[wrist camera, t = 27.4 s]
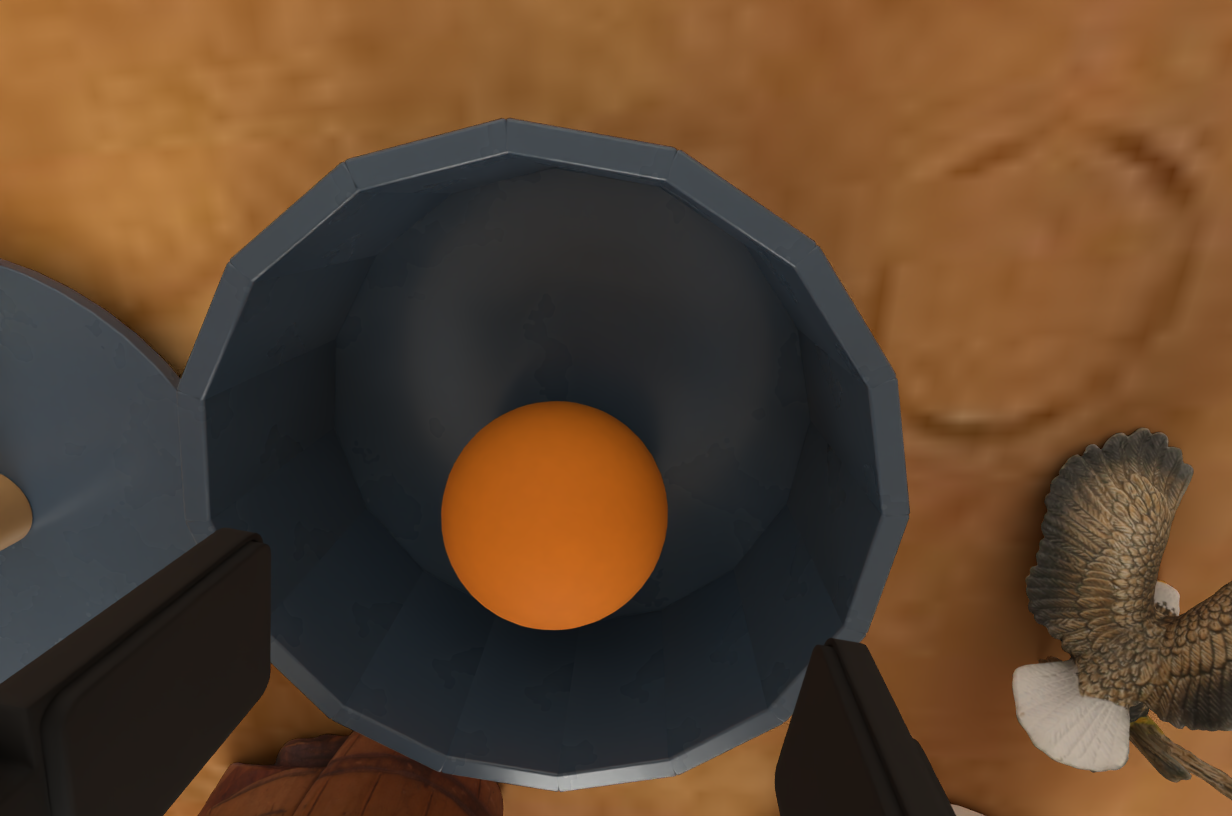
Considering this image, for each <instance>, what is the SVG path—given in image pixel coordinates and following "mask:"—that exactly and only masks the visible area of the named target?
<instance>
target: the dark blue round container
mask: <svg viewBox="0 0 1232 816" xmlns="http://www.w3.org/2000/svg"><path fill="white" fill-rule="evenodd" d="M177 390H178V391H177V393H176V398H177V413H178V428H179V443H180V458H181V473H182V488H183V502H184V517H185V520H187V521H186V524H187V526H188V528H189V530H190V532H191V534H192V536H193V538H194V540H195V542H196V544H198V543H200V542H201V541H202V540H204V539H205V538H207V537H208V536H210V535H211V534H212V533H214V532H215V531H217V530H219V529H221V528H232V529H237V530H243V531H248V532H254V533H258V534H259V535H261V537H262V539H263V543H265V544H268V545H269V547H270V549H271V663H272V664H273V665H274V666H275V667H276V668H277V669H278V670H279V671H280V672H281V673H282V674H283V675H284V676H285V677H286V678H287V679H289V680H290V681H291V682H292V683H293V684H294V685H295V686H296V687H297V688H298V689H299V690H300V691H301V692H302V693H303V694H304V695H305V696H306V697H307V698H308V699H309V700H310V701H312V702H313V703H314V704H315V705H316V706H317V707H318V708H319V709H320V710H321V711H322V712H323V713H324V714H325V715H326V716H327V717H328V718H330V719H331V718H332V720H333V721H335V722H337V723H339V724H341V725H343V726H345V727H347V728H349V729H351V730H353V731H355V732H358V733H360V734H362V735H364V736H366V737H368V738H370V739H372V740H374V741H376V742H378V743H380V744H382V745H384V746H386V747H388V748H390V749H392V750H394V751H396V752H399V753H401V754H403V755H405V756H407V757H409V758H411V759H413V760H415V761H417V762H419V763H421V764H423V765H425V766H427V767H429V768H431V769H433V770H435V771H437V772H440V771H441V772H442V773H445V774H451V775H457V776H464V777H470V778H476V779H482V780H488V781H495V782H501V783H507V784H513V785H519V786H525V787H532V788H538V789H544V790H550V791H560V792H564V791H571V790H578V789H585V788H593V787H600V786H607V785H614V784H622V783H629V782H636V781H643V780H651V779H658V778H665V777H672V776H676V775H680V774H682V773H684V772H686V771H688V770H690V769H692V768H694V767H696V766H698V765H700V764H702V763H704V762H706V761H708V760H710V759H712V758H714V757H716V756H718V755H720V754H722V753H724V752H726V751H728V750H730V749H732V748H734V747H736V746H739V745H741V744H743V743H745V742H747V741H749V740H751V739H753V738H755V737H757V736H759V735H761V734H763V733H765V732H767V731H769V730H771V729H773V728H775V727H777V726H779V725H781V724H782V723H783V722H785V721H787V720H788V718H789V717H790V716H791V715H792V714H793V712H794V708H795V705H796V702H797V699H798V696H799V693H800V689H801V686H802V683H803V680H804V677H805V673H806V670H807V667H808V664H809V661H810V657H811V654H812V651H813V649H814V647H815V646H816V645H824V644H825V642H826V641H827V639H829V638H835V639H841V640H846V641H851V642H857V643H860V642H861V641H862V639H863V638H864V637H865V636H866V633H867V632H868V630H869V627H870V625H871V622H872V619H873V616H874V614H875V611H876V608H877V605H878V602H879V600H880V597H881V594H882V591H883V589H884V586H885V583H886V580H887V578H888V575H889V572H890V569H891V566H892V564H893V561H894V558H895V555H896V553H897V550H898V547H899V544H900V542H901V539H902V536H903V533H904V530H905V528H906V525H907V522H908V519H909V513H910V507H909V497H908V486H907V475H906V465H905V454H904V443H903V433H902V422H901V411H900V401H899V390H898V380H897V378H896V374H895V372H894V370H893V368H892V367H891V365H890V363H889V362H888V360H887V358H886V357H885V355H884V353H883V352H882V350H881V348H880V347H879V345H878V343H877V342H876V340H875V338H874V337H873V335H872V333H871V332H870V330H869V328H868V327H867V325H866V323H865V321H864V320H863V318H862V316H861V315H860V313H859V311H858V310H857V308H856V306H855V305H854V303H853V301H852V300H851V298H850V296H849V295H848V293H847V291H846V290H845V288H844V286H843V285H842V283H841V281H840V280H839V278H838V276H837V275H836V273H835V271H834V270H833V268H832V266H831V265H830V263H829V261H828V260H827V258H826V256H825V255H824V253H823V251H822V250H821V248H820V247H819V246H818V245H816V243H815V241H814V240H812V239H811V238H809V237H808V236H806V235H805V234H803V233H802V232H800V231H799V230H797V229H796V228H794V227H793V226H792V225H790V224H789V223H787V222H786V221H784V220H783V219H781V218H780V217H778V216H777V215H775V214H774V213H773V212H771V211H770V210H768V209H767V208H765V207H764V206H762V205H761V204H759V203H758V202H756V201H755V200H754V199H752V198H751V197H749V196H748V195H746V194H745V193H743V192H742V191H740V190H739V189H737V188H736V187H734V186H733V185H732V184H730V183H729V182H727V181H726V180H724V179H723V178H721V177H720V176H718V175H717V174H715V173H714V172H713V171H711V170H710V169H708V168H707V167H705V166H704V165H702V164H701V163H699V162H698V161H696V160H695V159H694V158H692V157H691V156H689V155H688V154H686V153H685V152H683V151H682V150H677V149H676V148H674V147H670V146H665V145H659V144H654V143H648V142H642V141H637V140H631V139H625V138H620V137H614V136H609V135H603V134H597V133H592V132H586V131H580V130H575V129H569V128H564V127H558V126H552V125H547V124H541V123H536V122H530V121H524V120H519V119H513V118H508V119H503V118H501V119H497V120H493V121H489V122H486V123H482V124H478V125H474V126H470V127H467V128H463V129H459V130H455V131H451V132H448V133H444V134H440V135H436V136H433V137H429V138H425V139H421V140H417V141H414V142H410V143H406V144H402V145H398V146H395V147H391V148H387V149H383V150H379V151H376V152H372V153H368V154H364V155H360V156H357V157H353V158H349V159H347V160H346V161H345V162H341V163H340V164H339V165H337V166H336V167H335V168H334V169H333V170H332V171H330V172H329V173H328V174H327V175H326V176H325V177H324V178H322V179H321V180H320V181H319V182H318V183H317V184H316V185H314V186H313V187H312V188H311V189H310V190H309V191H308V192H306V193H305V194H304V195H303V196H302V197H301V198H300V199H298V200H297V201H296V202H295V203H294V204H293V205H291V206H290V207H289V208H288V209H287V210H286V211H285V212H283V213H282V214H281V215H280V216H279V217H278V218H277V219H275V220H274V221H273V222H272V223H271V224H270V225H269V226H267V227H266V228H265V229H264V230H263V231H262V232H260V233H259V234H258V235H257V236H256V237H255V238H254V239H252V240H251V241H250V242H249V243H248V244H247V245H246V246H244V247H243V248H242V249H241V250H240V251H239V252H238V253H236V254H235V255H234V256H233V257H232V258H231V259H230V262H228V263H227V265H226V267H225V270H224V272H223V275H222V277H221V280H220V282H219V285H218V287H217V290H216V292H215V295H214V297H213V300H212V302H211V305H210V307H209V310H208V312H207V315H206V317H205V320H204V322H203V325H202V327H201V330H200V332H199V334H198V337H197V339H196V342H195V344H194V347H193V349H192V352H191V354H190V357H189V359H188V362H187V364H186V367H185V369H184V372H183V374H182V377H181V379H180V382H179V384H178V387H177ZM548 401H566V402H574V403H579V404H583V405H587V406H590V407H593V408H596V409H599V410H601V411H604V412H606V413H608V414H609V415H611V416H613V417H614V418H616V419H618V420H619V421H621V422H622V423H623V424H625V425H626V426H627V427H628V428H629V429H631V430H632V431H633V432H634V433H635V434H636V435H637V436H638V437H639V438H640V439H641V441H642V442H643V443H644V445H645V446H646V447H647V449H648V450H649V452H650V453H651V455H652V456H653V458H654V460H655V462H656V465H657V467H658V469H659V471H660V473H661V476H662V479H663V483H664V486H665V491H666V496H667V504H668V522H667V531H666V537H665V542H664V545H663V548H662V551H661V554H660V557H659V560H658V562H657V564H656V566H655V568H654V570H653V572H652V573H651V575H650V576H649V578H648V579H647V581H646V582H645V584H644V585H643V587H642V588H641V589H640V590H639V591H638V592H637V593H636V594H635V595H634V596H633V597H632V598H631V599H630V600H629V601H628V602H627V603H626V604H624V605H623V606H622V607H620V608H619V609H618V610H616V611H615V612H613V613H612V614H610V615H608V616H606V617H604V618H602V619H600V620H598V621H596V622H593V623H590V624H587V625H584V626H581V627H577V628H572V629H564V630H542V629H534V628H529V627H524V626H521V625H518V624H515V623H513V622H510V621H508V620H505V619H503V618H501V617H499V616H498V615H496V614H494V613H493V612H491V611H490V610H488V609H487V608H485V607H484V606H483V605H482V604H481V603H479V602H478V601H477V600H476V599H475V598H474V597H473V596H472V595H471V594H470V593H469V592H468V590H467V589H466V588H465V586H464V585H463V584H462V582H461V581H460V580H459V578H458V576H457V574H456V572H455V571H454V569H453V567H452V565H451V563H450V560H449V557H448V555H447V552H446V548H445V545H444V540H443V534H442V523H441V508H442V500H443V494H444V491H445V487H446V484H447V480H448V477H449V474H450V472H451V470H452V468H453V465H454V463H455V462H456V460H457V458H458V456H459V455H460V453H461V452H462V450H463V449H464V447H465V446H466V445H467V444H468V443H469V441H470V440H471V439H472V438H473V437H474V436H475V435H476V434H477V433H478V432H479V431H480V430H481V429H482V428H484V427H485V426H486V425H488V424H489V423H490V422H492V421H493V420H494V419H496V418H498V417H499V416H501V415H503V414H505V413H507V412H509V411H511V410H514V409H516V408H519V407H522V406H525V405H529V404H534V403H539V402H548Z"/></svg>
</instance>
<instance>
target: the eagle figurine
mask: <svg viewBox="0 0 1232 816" xmlns="http://www.w3.org/2000/svg"><path fill="white" fill-rule="evenodd" d="M1192 475H1193V468H1192V467H1191V465H1189V464H1185V463H1184V462H1183V458H1182V451H1181V449H1179V448H1176V447H1168V438H1167V436H1166V435H1165V434H1164V433H1162V432H1157V433H1154V434H1151V433H1150V430H1149V429H1147V428H1140V429H1137V430H1136V431H1135V432H1133V433H1132V434H1131V435H1129V436H1126V435H1125V434H1124V433H1117V434H1115V435H1113V436H1112V437H1110V438H1109V439H1108V440H1107V441H1106V442H1105V444H1104V446H1103V448H1102V449H1100V448H1099V447H1098V446H1097V445H1095V444H1092V445H1088V446H1087V447H1086V450H1085V452H1084V453H1083V455H1082V456H1079V455H1074V456H1072V457H1070V458H1069V459H1068V460H1067V462H1066V463H1065V464H1064V465H1063V466H1062V468H1061V469H1060V471H1059V476H1057V477H1055V478H1054V479H1053V480H1052V482H1051V484H1050V493H1049V494H1047V495H1046V497H1045V501H1044V503H1045V505H1046V507H1047V513H1046V514H1045V515H1044V520H1043V522H1042V524H1041V530H1042V533H1043V535H1044V536H1045V537H1044V538H1043V539H1042V540H1040V543H1039V551H1038V552H1037V553H1036V561H1037V563H1038V564H1037V566H1033V567H1031V568H1030V575H1029V576H1027V577H1026V580H1025V581H1026V584H1027V587H1026V594H1027V596H1028V598H1029V603H1028V609H1029V611H1030V612H1031V613H1033V614H1034V619H1035V621H1036V622H1037V623H1038V624H1041V625H1044V626H1045V627H1047V629H1048V632H1049V634H1050V635H1051V636H1052V637H1053V638H1055V639H1059V640H1060V641H1061V642H1062V646H1061V647H1062V650H1063V651H1065V652H1067V653H1069V654H1070V655H1071V658H1070V659H1069V660H1067V661H1061V660H1060V659H1058V658H1056V657H1053V656H1049V657H1047V659H1046V660H1043V659H1039V660H1038V662H1039V663H1038V664H1029V665H1024V666H1021V667H1018V668H1017V669H1015V671H1014V673H1013V680H1012V690H1013V694H1014V699H1015V704H1016V705H1015V707H1016V716H1017V719H1018V722H1019V723H1020V725H1021V726H1022V727H1023V728H1024V729H1025V731H1026V732H1027V734H1028V735H1029V737H1030V739H1031V741H1032V743H1033V744H1034V746H1035V747H1036V748H1038V749H1039V750H1041V751H1043V752H1044V753H1045V754H1047V755H1048V756H1049V757H1050V758H1051V759H1052V760H1054V761H1057V762H1059V763H1062V764H1065V765H1069V766H1072V767H1074V768H1077V769H1083V770H1090V771H1091V772H1093V773H1094V772H1102V771H1108V770H1118V769H1120V768H1122V767H1123V766H1124V765H1125V764H1126V762H1127V760H1128V759H1129V758H1128V754H1129V740H1130V741H1131V742H1132V743H1133V744H1134V745H1135V746H1136V747H1137V748H1138V750H1139V751H1140V752H1141V753H1142V754H1143V755H1144V756H1145V757H1146V758H1147V760H1148V761H1149V762H1150V763H1151V764H1152V765H1153V766H1154V767H1155V768H1156V770H1157V771H1158V772H1159V773H1160V774H1161V775H1162V776H1163V777H1165V778H1166V779H1168V780H1170V781H1172V782H1179V781H1180V780H1189V779H1191V774H1190V773H1192V774H1194V775H1196V776H1198V777H1199V778H1201V779H1203V780H1205V781H1206V782H1207V783H1209V784H1210V785H1212V786H1213V787H1214V788H1215V789H1217V790H1218V791H1219V792H1220V793H1222V794H1223V795H1225V796H1226V797H1228V798H1229V799H1231V800H1232V778H1231V777H1229V776H1228V775H1227V774H1226V773H1225V772H1223V771H1221V770H1219V769H1217V768H1215V767H1213V766H1211V765H1209V764H1207V763H1206V762H1204V761H1202V760H1200V759H1199V758H1197V757H1196V756H1195V755H1194V754H1192V753H1191V752H1190V751H1187V750H1185V749H1184V748H1183V747H1181V746H1179V745H1177V744H1175V743H1173V742H1172V741H1171V740H1170V739H1169V738H1167V737H1166V736H1165V735H1164V733H1163V731H1162V730H1161V729H1160V728H1159V727H1158V725H1157V724H1156V723H1155V722H1154V721H1153V720H1152V719H1151V718H1150V717H1149V716H1148V715H1147V714H1148V712H1149V709H1150V710H1152V711H1153V712H1154V713H1156V714H1157V716H1158V717H1159V719H1160V720H1162V721H1164V722H1169V723H1171V724H1172V725H1173V726H1174V727H1176V728H1178V729H1183V727H1184V726H1187V727H1188V728H1189V729H1190V730H1208V731H1217V730H1221V731H1232V581H1231V582H1229V583H1228V584H1226V585H1224V586H1223V587H1222V588H1221V589H1219V590H1218V591H1217V592H1216V593H1215V594H1214V595H1212V596H1211V597H1209V598H1208V599H1206V600H1205V601H1203V602H1201V603H1199V604H1197V605H1196V606H1195V607H1193V608H1191V609H1190V610H1188V611H1187V612H1186V613H1184V614H1182V615H1180V616H1179V611H1180V608H1179V599H1180V595H1179V593H1178V591H1177V590H1176V589H1174V588H1173V587H1172V586H1170V585H1168V584H1167V583H1166V582H1164V581H1162V580H1158V581H1157V577H1158V571H1159V566H1160V563H1161V559H1162V555H1163V553H1164V550H1165V547H1166V545H1167V541H1168V538H1169V533H1170V528H1171V524H1172V521H1173V518H1174V515H1175V512H1176V510H1177V508H1178V506H1179V504H1180V501H1181V498H1182V496H1183V495H1184V493H1185V491H1186V490H1187V487H1188V485H1189V483H1190V481H1191V478H1192ZM1189 772H1190V773H1189Z"/></svg>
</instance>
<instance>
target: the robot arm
mask: <svg viewBox="0 0 1232 816" xmlns="http://www.w3.org/2000/svg"><path fill="white" fill-rule="evenodd" d="M270 663H271V549H270V547H269V545H268V544H265V543H263V539H262V537H261V535H259V534H258V533H254V532H248V531H243V530H237V529H232V528H221V529H219V530H217V531H215V532H214V533H212V534H211V535H210V536H208V537H207V538H205V539H204V540H202V541H201V542H200V543H198V544H197V545H195V546H194V547H193V548H191V549H190V550H188V551H187V552H186V553H184V554H183V555H181V556H180V557H179V558H177V559H176V560H174V561H173V562H171V563H170V564H169V565H167V566H166V567H164V568H163V569H162V570H160V571H159V572H157V573H156V574H155V575H153V576H152V577H150V578H149V579H147V580H146V581H145V582H143V583H142V584H140V585H139V586H138V587H136V588H135V589H133V590H132V591H131V592H129V593H128V594H126V595H125V596H124V597H122V598H121V599H119V600H118V601H116V602H115V603H114V604H112V605H111V606H109V607H108V608H107V609H105V610H104V611H102V612H101V613H100V614H98V615H97V616H95V617H94V618H92V619H91V620H90V621H88V622H87V623H85V624H84V625H83V626H81V627H80V628H78V629H77V630H76V631H74V632H73V633H71V634H70V635H68V636H67V637H66V638H64V639H63V640H61V641H60V642H59V643H57V644H56V645H54V646H53V647H52V648H50V649H49V650H47V651H46V652H45V653H43V654H42V655H40V656H39V657H37V658H36V659H35V660H33V661H32V662H30V663H29V664H28V665H26V666H25V667H23V668H22V669H21V670H19V671H18V672H16V673H15V674H13V675H12V676H11V677H9V678H8V679H6V680H5V681H4V682H2V683H1V684H0V816H163V815H164V814H165V813H166V811H167V810H168V809H169V808H170V806H171V805H172V804H173V803H174V802H175V800H176V799H177V798H178V797H179V796H180V794H181V793H182V792H183V791H184V790H185V788H186V787H187V786H188V785H189V783H190V782H191V781H192V780H193V779H194V777H195V776H196V775H197V774H198V773H199V771H200V770H201V769H202V768H203V767H204V765H205V764H206V763H207V762H208V760H209V759H210V758H211V757H212V756H213V754H214V753H215V752H216V751H217V750H218V748H219V747H220V746H221V745H222V744H223V742H224V741H225V740H226V739H227V737H228V736H229V735H230V734H231V733H232V731H233V730H234V729H235V728H236V727H237V725H238V724H239V723H240V722H241V721H242V719H243V718H244V717H245V716H246V714H247V713H248V712H249V711H250V710H251V708H252V707H253V706H254V705H255V704H256V702H257V701H258V700H259V699H260V697H261V696H262V695H263V693H264V691H265V689H266V687H267V685H268V682H269V678H270ZM775 791H776V797H777V801H778V806H779V811H780V816H985V815H983V814H980V813H977V812H975V811H972V810H969V809H967V808H964V807H961V806H958V805H953V804H950V802H949V800H948V798H947V796H946V794H945V792H944V790H943V788H942V786H941V784H940V782H939V780H938V778H937V776H936V774H935V772H934V770H933V768H932V766H931V764H930V762H929V760H928V758H927V756H926V754H925V752H924V750H923V749H922V747H921V746H920V744H919V743H918V741H916V740H915V739H913V738H912V737H911V735H910V733H909V731H908V729H907V727H906V725H905V723H904V721H903V719H902V716H901V714H900V712H899V710H898V708H897V706H896V704H895V702H894V700H893V698H892V696H891V694H890V692H889V690H888V688H887V686H886V684H885V682H884V680H883V678H882V676H881V674H880V672H879V670H878V668H877V666H876V664H875V662H874V660H873V658H872V656H871V654H870V652H869V650H868V648H867V647H866V645H864V644H862V643H857V642H851V641H846V640H841V639H835V638H829V639H827V641H826V642H825V644H824V645H816V646H815V647H814V649H813V651H812V654H811V657H810V661H809V664H808V667H807V670H806V673H805V677H804V680H803V683H802V686H801V689H800V693H799V696H798V699H797V702H796V705H795V708H794V712H793V715H792V718H791V721H790V724H789V728H788V731H787V734H786V737H785V740H784V744H783V747H782V750H781V753H780V756H779V760H778V763H777V766H776V771H775Z"/></svg>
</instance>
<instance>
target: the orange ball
mask: <svg viewBox="0 0 1232 816" xmlns="http://www.w3.org/2000/svg"><path fill="white" fill-rule="evenodd" d="M667 522H668V504H667V496H666V491H665V486H664V483H663V479H662V476H661V473H660V471H659V469H658V467H657V465H656V462H655V460H654V458H653V456H652V455H651V453H650V452H649V450H648V449H647V447H646V446H645V445H644V443H643V442H642V441H641V439H640V438H639V437H638V436H637V435H636V434H635V433H634V432H633V431H632V430H631V429H629V428H628V427H627V426H626V425H625V424H623V423H622V422H621V421H619V420H618V419H616V418H614V417H613V416H611V415H609V414H608V413H606V412H604V411H601V410H599V409H596V408H593V407H590V406H587V405H583V404H579V403H574V402H566V401H548V402H539V403H534V404H529V405H525V406H522V407H519V408H516V409H514V410H511V411H509V412H507V413H505V414H503V415H501V416H499V417H498V418H496V419H494V420H493V421H492V422H490V423H489V424H488V425H486V426H485V427H484V428H482V429H481V430H480V431H479V432H478V433H477V434H476V435H475V436H474V437H473V438H472V439H471V440H470V441H469V443H468V444H467V445H466V446H465V447H464V449H463V450H462V452H461V453H460V455H459V456H458V458H457V460H456V462H455V463H454V465H453V468H452V470H451V472H450V474H449V477H448V480H447V484H446V487H445V491H444V494H443V500H442V508H441V523H442V534H443V540H444V545H445V548H446V552H447V555H448V557H449V560H450V563H451V565H452V567H453V569H454V571H455V572H456V574H457V576H458V578H459V580H460V581H461V582H462V584H463V585H464V586H465V588H466V589H467V590H468V592H469V593H470V594H471V595H472V596H473V597H474V598H475V599H476V600H477V601H478V602H479V603H481V604H482V605H483V606H484V607H485V608H487V609H488V610H490V611H491V612H493V613H494V614H496V615H498V616H499V617H501V618H503V619H505V620H508V621H510V622H513V623H515V624H518V625H521V626H524V627H529V628H534V629H542V630H564V629H572V628H577V627H581V626H584V625H587V624H590V623H593V622H596V621H598V620H600V619H602V618H604V617H606V616H608V615H610V614H612V613H613V612H615V611H616V610H618V609H619V608H620V607H622V606H623V605H624V604H626V603H627V602H628V601H629V600H630V599H631V598H632V597H633V596H634V595H635V594H636V593H637V592H638V591H639V590H640V589H641V588H642V587H643V585H644V584H645V582H646V581H647V579H648V578H649V576H650V575H651V573H652V572H653V570H654V568H655V566H656V564H657V562H658V560H659V557H660V554H661V551H662V548H663V545H664V542H665V537H666V531H667Z"/></svg>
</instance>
